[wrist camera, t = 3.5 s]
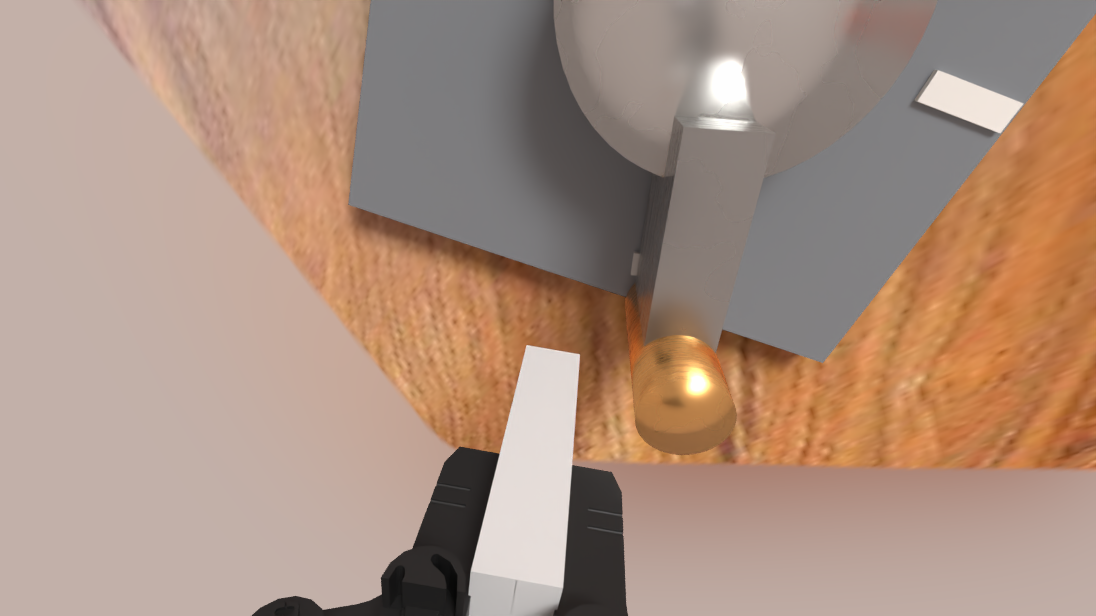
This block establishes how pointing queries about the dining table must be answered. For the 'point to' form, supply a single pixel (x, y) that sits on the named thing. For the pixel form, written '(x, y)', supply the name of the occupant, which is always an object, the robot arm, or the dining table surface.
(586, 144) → the plate
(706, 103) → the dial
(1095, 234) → the dining table surface
